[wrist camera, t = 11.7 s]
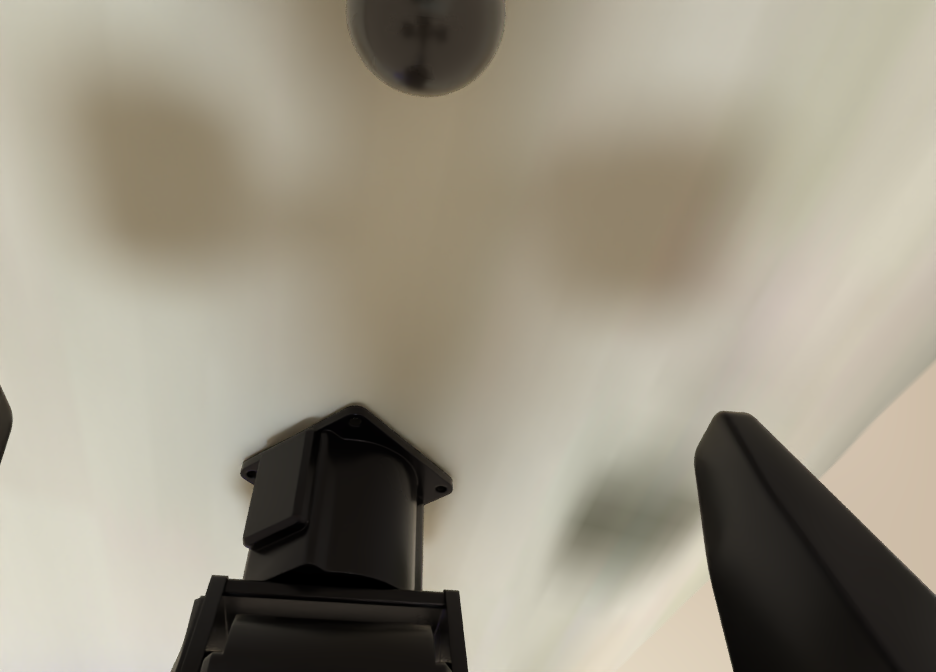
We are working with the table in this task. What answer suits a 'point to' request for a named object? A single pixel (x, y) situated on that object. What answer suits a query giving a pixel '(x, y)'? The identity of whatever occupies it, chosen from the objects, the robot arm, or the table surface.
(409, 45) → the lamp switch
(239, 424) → the table surface
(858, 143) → the table surface
